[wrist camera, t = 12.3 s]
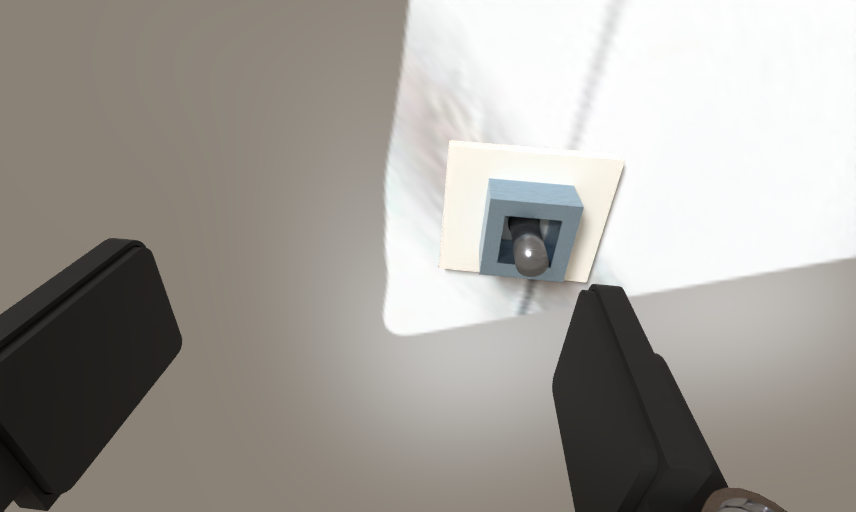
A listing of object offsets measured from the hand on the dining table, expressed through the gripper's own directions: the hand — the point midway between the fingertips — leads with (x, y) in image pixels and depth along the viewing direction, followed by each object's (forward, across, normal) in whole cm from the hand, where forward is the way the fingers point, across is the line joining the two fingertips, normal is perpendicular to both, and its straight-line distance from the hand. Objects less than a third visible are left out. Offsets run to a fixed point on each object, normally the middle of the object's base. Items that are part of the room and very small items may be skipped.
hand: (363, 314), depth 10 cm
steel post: (+27, -8, +11) cm, 30 cm away
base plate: (+28, -8, +11) cm, 31 cm away
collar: (+27, -8, +11) cm, 30 cm away
